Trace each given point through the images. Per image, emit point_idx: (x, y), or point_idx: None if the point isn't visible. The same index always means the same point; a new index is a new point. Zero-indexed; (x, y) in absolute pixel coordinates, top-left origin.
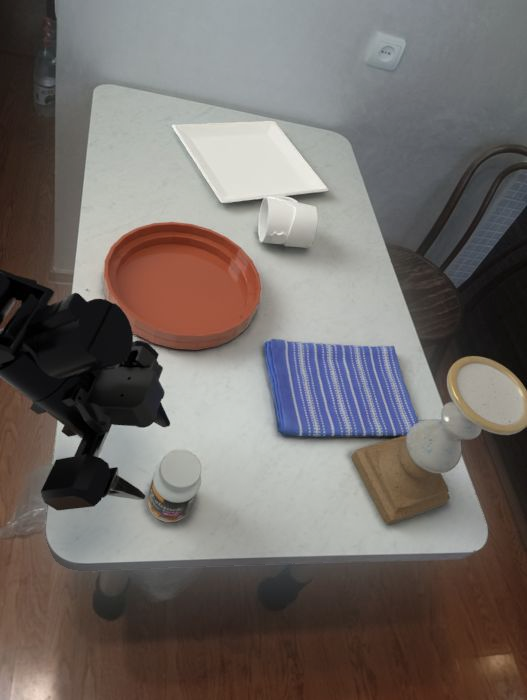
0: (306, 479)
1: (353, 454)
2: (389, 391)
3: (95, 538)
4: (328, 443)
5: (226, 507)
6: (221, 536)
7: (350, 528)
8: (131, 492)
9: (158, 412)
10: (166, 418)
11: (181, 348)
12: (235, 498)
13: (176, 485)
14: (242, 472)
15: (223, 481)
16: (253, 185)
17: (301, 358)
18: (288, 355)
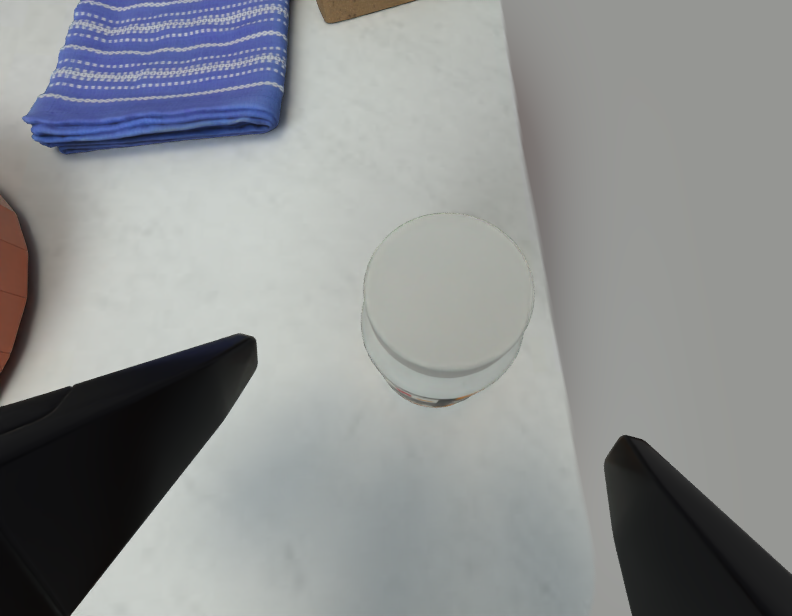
0: (374, 94)
1: (326, 14)
2: None
3: (540, 536)
4: (300, 56)
5: None
6: None
7: (465, 36)
8: (758, 553)
9: (167, 391)
10: (214, 348)
11: (13, 337)
12: None
13: (529, 300)
14: (360, 204)
15: (381, 240)
16: None
17: (97, 76)
18: (83, 97)
